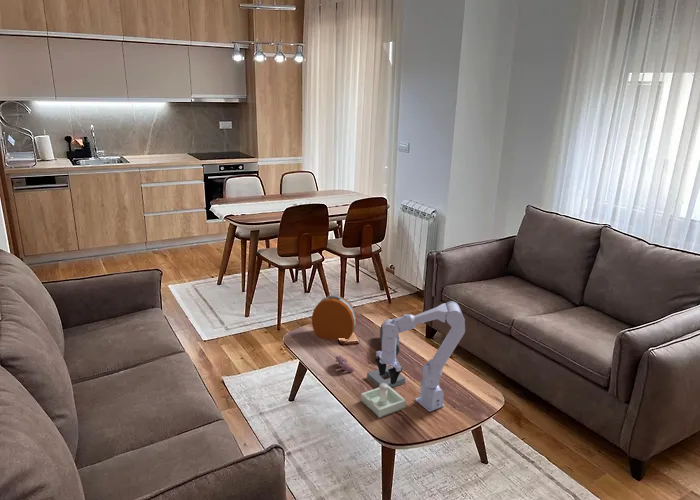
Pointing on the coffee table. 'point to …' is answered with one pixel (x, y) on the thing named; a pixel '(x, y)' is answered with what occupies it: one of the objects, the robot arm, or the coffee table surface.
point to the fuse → (383, 394)
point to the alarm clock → (334, 318)
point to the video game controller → (344, 364)
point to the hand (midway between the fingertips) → (387, 378)
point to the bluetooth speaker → (396, 341)
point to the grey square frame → (378, 379)
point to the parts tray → (379, 410)
